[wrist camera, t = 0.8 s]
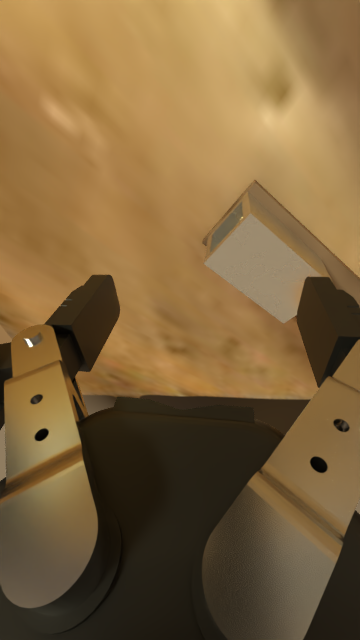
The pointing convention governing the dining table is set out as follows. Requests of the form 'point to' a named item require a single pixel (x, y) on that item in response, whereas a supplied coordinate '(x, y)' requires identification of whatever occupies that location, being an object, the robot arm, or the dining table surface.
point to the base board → (333, 265)
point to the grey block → (262, 258)
